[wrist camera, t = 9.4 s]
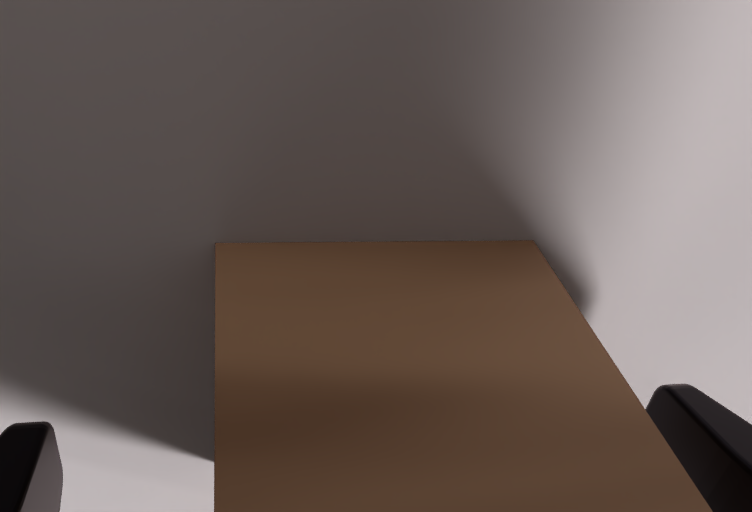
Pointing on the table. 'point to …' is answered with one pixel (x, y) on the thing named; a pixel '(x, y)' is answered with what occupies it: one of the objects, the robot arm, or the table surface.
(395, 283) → the brown wooden cube
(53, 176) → the table surface
